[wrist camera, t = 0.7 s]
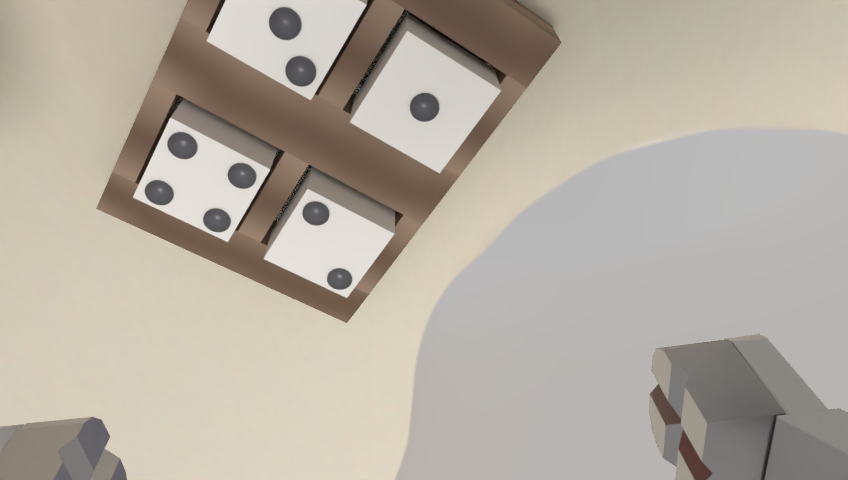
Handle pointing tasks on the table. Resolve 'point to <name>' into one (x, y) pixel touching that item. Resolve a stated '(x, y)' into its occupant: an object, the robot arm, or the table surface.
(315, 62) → the button three dots
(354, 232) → the button two dots
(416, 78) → the button one dot
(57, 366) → the table surface
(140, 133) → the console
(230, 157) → the button four dots
